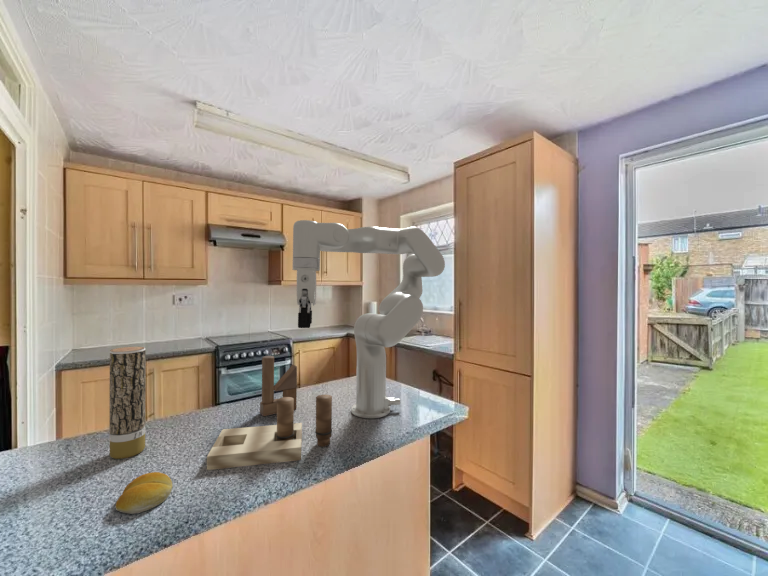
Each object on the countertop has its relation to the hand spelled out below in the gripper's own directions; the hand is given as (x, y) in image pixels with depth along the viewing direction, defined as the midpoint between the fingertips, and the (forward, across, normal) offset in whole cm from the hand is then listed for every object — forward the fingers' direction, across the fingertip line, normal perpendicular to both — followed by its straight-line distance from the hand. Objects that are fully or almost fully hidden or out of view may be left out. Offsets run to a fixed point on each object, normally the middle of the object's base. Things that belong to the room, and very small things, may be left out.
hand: (305, 325), depth 94 cm
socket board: (+29, -11, +10) cm, 33 cm away
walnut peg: (+29, -10, -6) cm, 31 cm away
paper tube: (+30, -7, +40) cm, 51 cm away
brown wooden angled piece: (+29, +14, +9) cm, 34 cm away
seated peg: (+29, -10, +4) cm, 31 cm away
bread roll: (+30, -27, +27) cm, 49 cm away
